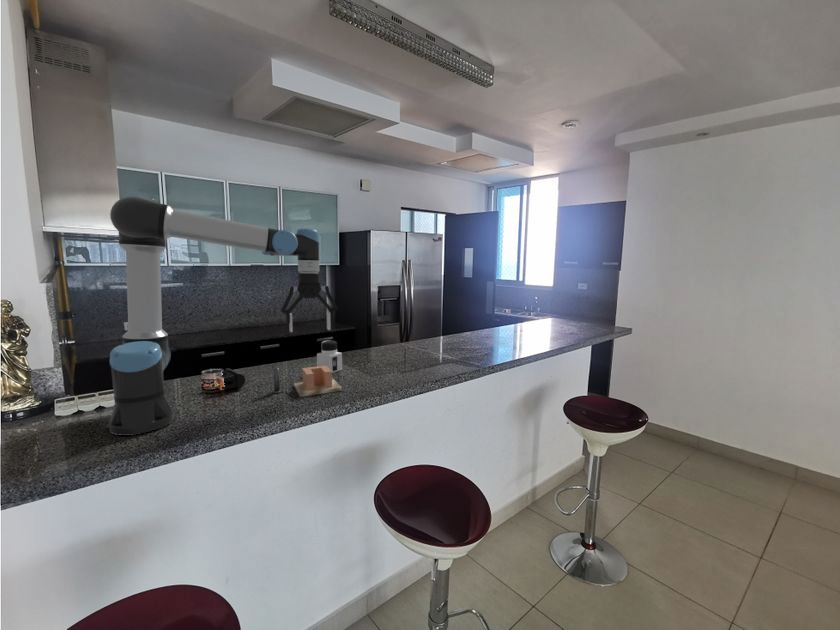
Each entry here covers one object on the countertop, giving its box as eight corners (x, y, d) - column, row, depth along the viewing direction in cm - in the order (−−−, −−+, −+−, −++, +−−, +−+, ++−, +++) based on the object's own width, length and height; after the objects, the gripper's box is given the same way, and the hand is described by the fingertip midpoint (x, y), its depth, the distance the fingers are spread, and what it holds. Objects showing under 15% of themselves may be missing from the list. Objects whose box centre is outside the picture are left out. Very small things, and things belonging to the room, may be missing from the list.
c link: (307, 390, 138) (306, 374, 137) (302, 383, 146) (302, 368, 145) (332, 387, 142) (331, 371, 141) (326, 380, 150) (326, 365, 149)
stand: (273, 393, 138) (272, 369, 137) (272, 391, 140) (271, 367, 139) (281, 392, 139) (280, 368, 138) (280, 390, 142) (279, 366, 140)
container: (342, 369, 169) (342, 340, 168) (329, 374, 163) (328, 343, 161) (330, 367, 173) (329, 338, 172) (316, 371, 167) (316, 341, 165)
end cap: (246, 389, 143) (245, 371, 142) (226, 394, 138) (225, 375, 137) (234, 383, 150) (233, 366, 149) (215, 388, 144) (214, 370, 144)
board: (299, 396, 135) (299, 393, 135) (293, 386, 147) (293, 383, 146) (341, 390, 142) (341, 387, 142) (333, 380, 153) (333, 378, 153)
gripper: (273, 272, 131) (275, 334, 134) (345, 273, 142) (346, 329, 145) (271, 272, 138) (273, 330, 141) (340, 272, 149) (341, 326, 151)
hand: (310, 330), depth 143 cm, fingers open, 13 cm apart
